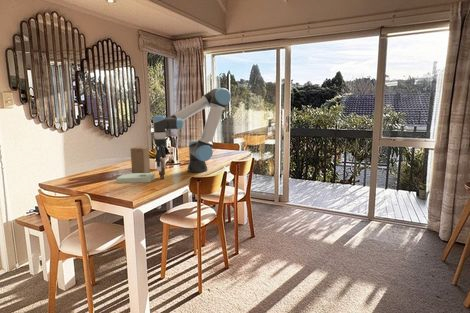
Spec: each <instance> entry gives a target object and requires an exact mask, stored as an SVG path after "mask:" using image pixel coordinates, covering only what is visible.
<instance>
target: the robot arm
mask: <svg viewBox="0 0 470 313" xmlns="http://www.w3.org/2000/svg"><path fill="white" fill-rule="evenodd" d="M231 99H232V95H231V93H230V91H229V90H228V89H227V88H225V87H218V88H213V89H210V91H208V92H207V93H205V94H203V95H202V97H200V99H197V100H195V101H194V102H193V103H191V104H189V105H187V106H185V107H184V108H182V109H181V110H179V111H177V112H175V113H174V114H172V115H170V116H167V117H166V116H165V115H161V114H160V115H154V116H153V134H152V135H153V136H154V141H153V142H154V145H157V146H156V147H155V148H156V149H155V160H154V161H155V163H156V172H159V171H161V162H160V160H161V158H163V159H164V165H165V166H166V159H167V155H166V149H165V148H166V147H165V145H166V144H167V140H166V137H167V136H166V135H167V134H166V130H181V129H183V127H184V121H186V120H187V119H189V118H190V117H192V116H194V115H195V114H197V113H199V112H201V111H203V110H204V109H206V108H210V109H209V112H208V115H207V118H206V121H205V124H204V127H203V130H202V134H201V137H200V138H199V139H198V140H197V141H196V140H194V141H189V143H188V152H189V154H188V155H189V158H188V159H189V162H188V165H187V172H189V173H196V174H197V173H204V172H207V171H208V165H207V163H206V162H207V161H209V160H210V159H211V158H212V157H213V153H214V150H213V147H214V144H213V140H214V137H215V134H216V131H217V128H218V125H219V122H220V119H221V116H222V113H223V111H224V110H225V109H226V108H227V105H228V104H229V103H230V102H231Z"/></svg>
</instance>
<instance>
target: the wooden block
mask: <svg viewBox="0 0 470 313" xmlns="http://www.w3.org/2000/svg"><path fill="white" fill-rule="evenodd" d="M129 151H130V164H131V173H151V165H150V149H149V146H143V145H141V146H139V145H137V146H134V147H130V150H129Z"/></svg>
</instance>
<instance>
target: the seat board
mask: <svg viewBox="0 0 470 313" xmlns="http://www.w3.org/2000/svg"><path fill="white" fill-rule="evenodd" d="M155 178H156V172H149V173H132V172H130V173H129V172H125V173H122V174H120V176H118V177H117V178H116V183H117V184H121V183H122V184H127V183H132V184H133V183H136V184H137V183H151V182H152V181H153V180H154V179H155Z"/></svg>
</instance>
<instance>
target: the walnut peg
mask: <svg viewBox="0 0 470 313" xmlns="http://www.w3.org/2000/svg"><path fill="white" fill-rule="evenodd" d="M160 162H161V171H158V175H159V179H160V180H165V175H166V170H165V168H166V164H165V165H164V159H163V158H162V157H161V160H160Z"/></svg>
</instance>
